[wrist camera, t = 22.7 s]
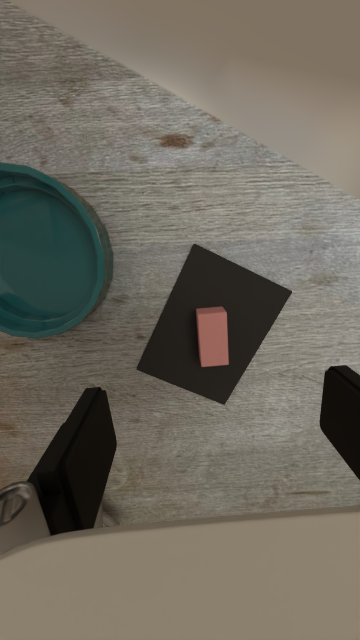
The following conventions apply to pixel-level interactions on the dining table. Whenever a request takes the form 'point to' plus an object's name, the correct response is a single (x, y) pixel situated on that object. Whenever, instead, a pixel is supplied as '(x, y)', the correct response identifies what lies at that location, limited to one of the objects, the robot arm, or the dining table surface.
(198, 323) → the eraser
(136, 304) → the dining table surface
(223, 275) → the mat
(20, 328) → the bowl
